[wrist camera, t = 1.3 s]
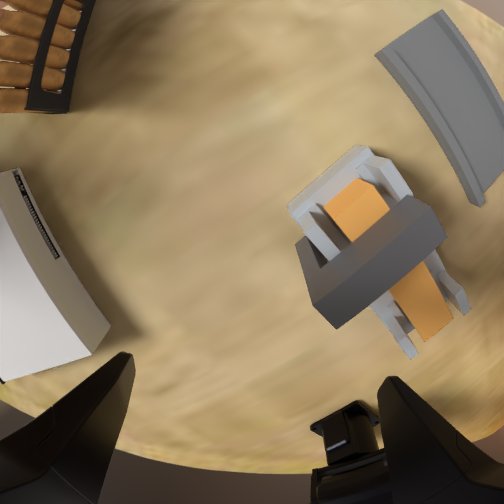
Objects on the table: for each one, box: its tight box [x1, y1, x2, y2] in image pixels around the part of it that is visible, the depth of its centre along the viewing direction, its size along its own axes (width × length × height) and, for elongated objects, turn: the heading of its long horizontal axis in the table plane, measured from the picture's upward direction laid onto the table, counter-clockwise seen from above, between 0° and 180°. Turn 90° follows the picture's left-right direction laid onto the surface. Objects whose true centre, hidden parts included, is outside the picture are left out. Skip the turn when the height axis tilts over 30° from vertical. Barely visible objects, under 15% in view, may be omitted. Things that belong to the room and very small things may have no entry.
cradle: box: [287, 145, 471, 360], centre depth 18 cm, size 14×6×5 cm, turn 44°
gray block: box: [295, 195, 447, 330], centre depth 16 cm, size 2×7×8 cm, turn 134°
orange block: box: [323, 178, 454, 342], centre depth 17 cm, size 12×3×3 cm, turn 44°
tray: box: [375, 9, 504, 207], centre depth 16 cm, size 14×8×1 cm, turn 44°
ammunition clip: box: [0, 0, 96, 114], centre depth 10 cm, size 11×2×12 cm, turn 170°
